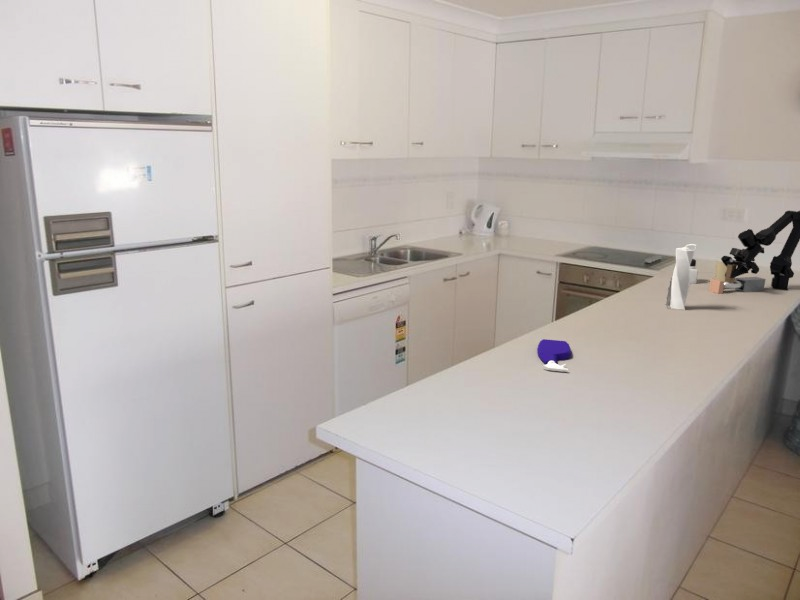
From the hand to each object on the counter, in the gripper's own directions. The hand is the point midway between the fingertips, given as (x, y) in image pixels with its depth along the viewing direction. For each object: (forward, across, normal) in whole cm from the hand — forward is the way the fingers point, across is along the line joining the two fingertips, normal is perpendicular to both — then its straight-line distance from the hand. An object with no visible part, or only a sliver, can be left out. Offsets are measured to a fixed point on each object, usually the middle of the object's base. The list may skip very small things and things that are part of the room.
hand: (727, 277), depth 297 cm
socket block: (+9, 0, +1) cm, 9 cm away
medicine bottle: (+8, -22, +3) cm, 24 cm away
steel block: (-5, 0, +15) cm, 16 cm away
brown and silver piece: (-1, 0, +9) cm, 9 cm away
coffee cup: (-7, -19, +17) cm, 26 cm away
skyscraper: (+38, +20, -27) cm, 51 cm away
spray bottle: (+99, +65, -88) cm, 147 cm away
